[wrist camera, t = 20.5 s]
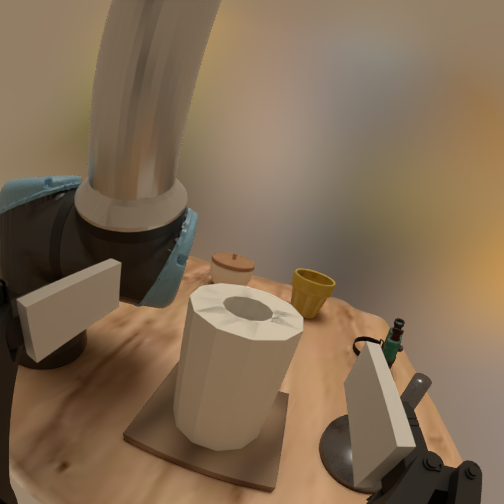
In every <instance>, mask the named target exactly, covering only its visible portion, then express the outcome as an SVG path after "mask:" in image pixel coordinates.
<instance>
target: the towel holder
mask: <svg viewBox="0 0 504 504" xmlns="http://www.w3.org/2000/svg"><path fill="white" fill-rule="evenodd" d="M431 383H432V382H431V380H430V378H429V377H427V376H426V375H424V374H421V373H416V374H414V376H413V378H412V379H411V381H410V383H409V384H408V386H407V387H406V389H405V390H404V392H403V394H402V395H401V397H400V399H401V401H407V402H408V403H409V404H410V406H411V407H412V408H413V409H415V408H416V406H417V405H418V403H419V402H420V400H421V399H422V398H423V396H424V395H425V393H426V392H427V390H428V389H429V387H430V385H431ZM319 451H320V457H321V460H322V462H323V465H324V466H325V468H326V470H327V471H328V472H329V474H330V475H331V476H332V477H333V478H334V479H335V480H336V481H338V482H339V483H340V484H342V485H344V486H345V487H347V488H349V489H352V490H354V491H357V492H361V493H367V494H374V493H375V492H377V491H378V490H379V489H381V488H382V485H381V480H380V481H379V482H378V483H377V484H375V485H374V486H373V487H354V475H353V461H352V448H351V437H350V428H349V418H348V415H344V416H341V417H339V418H337V419H335V420H334V421H332V422H331V423H330V424H329V425H328V427H327V428H326V430H325V431H324V433H323V434H322V437H321V439H320V444H319Z"/></svg>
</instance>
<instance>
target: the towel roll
mask: <svg viewBox="0 0 504 504" xmlns="http://www.w3.org/2000/svg"><path fill="white" fill-rule="evenodd" d="M302 332H303V317H302V316H301V315H300V314H299V313H298V312H297V310H296V309H295V308H294V307H293V306H292V305H291V304H289V303H287V302H285V301H284V300H282V299H280V298H278V297H276V296H274V295H272V294H270V293H268V292H264V291H261V290H257V289H254V288H251V287H248V286H243V285H233V284H224V283H218V284H212V285H205V286H200V287H199V288H198V289H197V290H196V291H195V292H193V293H192V294H191V295H190V297H189V303H188V309H187V315H186V321H185V327H184V333H183V339H182V346H181V352H180V359H179V366H178V373H177V381H176V389H175V397H174V405H173V411H174V417H175V422H176V427H177V428H178V429H179V430H180V431H181V432H182V433H183V434H184V435H185V436H186V437H187V438H188V439H189V440H190V441H191V442H192V443H195V444H198V445H200V446H203V447H206V448H209V449H212V450H215V451H224V450H235V449H242V448H243V447H244V446H246V445H247V444H249V443H250V442H251V441H253V440H254V439H255V438H257V436H258V434H259V432H260V430H261V428H262V426H263V424H264V422H265V420H266V418H267V415H268V413H269V411H270V409H271V407H272V404H273V402H274V400H275V398H276V396H277V393H278V391H279V389H280V386H281V384H282V382H283V379H284V377H285V375H286V372H287V370H288V368H289V365H290V363H291V360H292V358H293V355H294V353H295V350H296V348H297V345H298V343H299V340H300V338H301V335H302Z"/></svg>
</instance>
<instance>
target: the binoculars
mask: <svg viewBox="0 0 504 504" xmlns="http://www.w3.org/2000/svg"><path fill="white" fill-rule="evenodd" d="M404 324H405V322H404V320H402V319H399V318H397V319H395V322H394V328H390V330H389V332H388V335H387V337H386V340H385V342H384V341H383V340H382V339H380V341H378V340H375V339H373V338H370V337H364V336H363V337H358V338H356V339H355V341H354V344H353V351H354V352H355V354H356V355H357V356H359V354H360V351H359V350H358V349H357V348H356V346H355V343H356V342H358V341H368V342H372V343H376V344H379V345H380V344H381V341H383V344H382V347H381V348H382V352H383V354H384V357H385V359H386V362H387V364H388V367H389V369H390V368H391V366H392V364H393V363H394V361H395V359H396V354H397V352H401V351H402V350H403V347H402V346H401V345H400V343H401V340H402V334H403V332H404V331H403V330H401V328H402V327H403V326H404Z"/></svg>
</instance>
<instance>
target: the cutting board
mask: <svg viewBox="0 0 504 504" xmlns="http://www.w3.org/2000/svg"><path fill="white" fill-rule="evenodd" d="M178 366H179V362H178V363H177V364H176V365H175V367H174V368H173V369H172V371H171V372H170V373H169V375H168V376H167V377H166V378H165V380H164V381H163V382H162V384H161V385H160V386H159V388H158V389H157V390H156V391H155V393H154V394H153V395H152V397H151V398H150V399H149V401H148V402H147V403H146V404H145V406H144V407H143V408H142V410H141V411H140V412H139V414H138V415H137V416H136V417H135V419H134V420H133V421H132V423H131V424H130V425H129V426H128V428H127V429H126V430H125V432H124V433H123V437H124V440H126V441H128V442H130V443H132V444H134V445H136V446H138V447H140V448H142V449H144V450H146V451H148V452H150V453H152V454H154V455H156V456H159V457H161V458H163V459H165V460H168V461H170V462H173V463H175V464H177V465H180V466H182V467H185V468H188V469H190V470H193V471H196V472H199V473H202V474H205V475H208V476H211V477H214V478H217V479H220V480H224V481H227V482H231V483H234V484H238V485H242V486H246V487H250V488H254V489H259V490H264V491H269V492H272V491H273V490H274V489H275V487H276V481H277V475H278V469H279V463H280V456H281V450H282V443H283V436H284V429H285V421H286V413H287V405H288V397H289V394H287V393H283V392H280V391H278V393H277V396H276V398H275V400H274V402H273V404H272V407H271V409H270V411H269V413H268V415H267V418H266V420H265V422H264V424H263V426H262V428H261V430H260V432H259V434H258V436H257V438H255V439H254V440H253V441H251V442H250V443H249V444H247V445H246V446H244V447H243V448H242V449H235V450H224V451H215V450H212V449H209V448H206V447H203V446H200V445H198V444H195V443H192V442H191V441H190V440H189V439H188V438H187V437H186V436H185V435H184V434H183V433H182V432H181V431H180V430H179V429H178V428H177V427H176V422H175V417H174V411H173V405H174V397H175V389H176V381H177V373H178Z"/></svg>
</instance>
